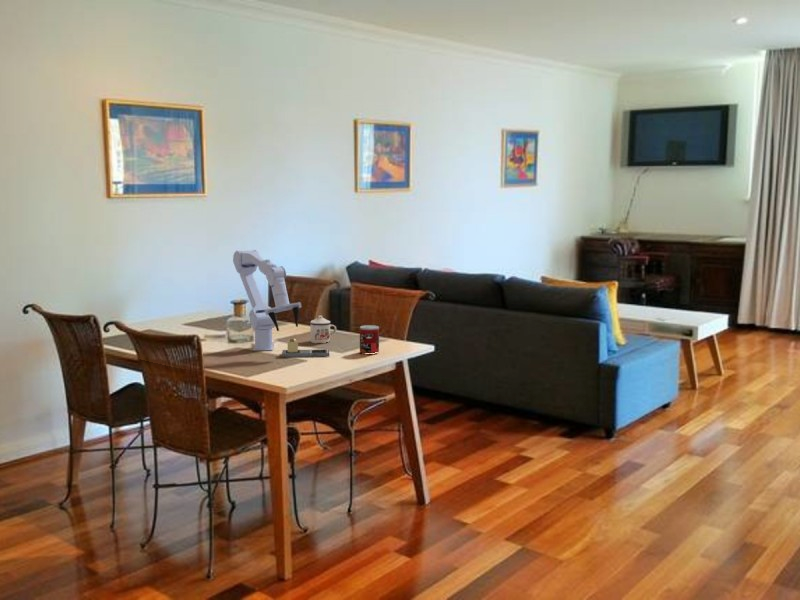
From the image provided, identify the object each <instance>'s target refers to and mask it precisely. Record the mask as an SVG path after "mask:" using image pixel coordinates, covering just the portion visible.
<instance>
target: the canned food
mask: <svg viewBox="0 0 800 600" xmlns="http://www.w3.org/2000/svg"><path fill="white" fill-rule="evenodd" d="M379 351H380V327H379V325H375V324H373V325H371V324H370V325H369V324H368V325H361V326H360V327H359V353H360V352H361V353H375V352H378V353H379ZM361 353H360V354H361Z"/></svg>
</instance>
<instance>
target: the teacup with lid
mask: <svg viewBox="0 0 800 600" xmlns="http://www.w3.org/2000/svg"><path fill="white" fill-rule="evenodd" d="M331 323H332V322H331V320H328V319H326V318H324V317H323V315H317V317H316V318H315V319H312V320H311V321H310V322H309V324H310V328H309V329H310V330H309V331H310V343H312V344H317V343H323V344H327V343H326V342H328V343H330V342H331V337H332V336H334V335H335V334H336V332H337V326H336V325H334V324H331ZM331 327H333V332H332V333H331ZM329 341H330V342H329Z"/></svg>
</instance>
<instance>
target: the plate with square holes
mask: <svg viewBox="0 0 800 600" xmlns="http://www.w3.org/2000/svg"><path fill="white" fill-rule="evenodd" d="M320 356H329V357H330V349H328V348H326V349H313V348H312V349H298V353H288V349H283V350H281V358H321V357H320Z"/></svg>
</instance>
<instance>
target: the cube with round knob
mask: <svg viewBox="0 0 800 600" xmlns="http://www.w3.org/2000/svg"><path fill="white" fill-rule="evenodd" d="M287 350H288V353H298V350H299V340H298V339H296V338H294V337H293V338H289V339H287Z"/></svg>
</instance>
